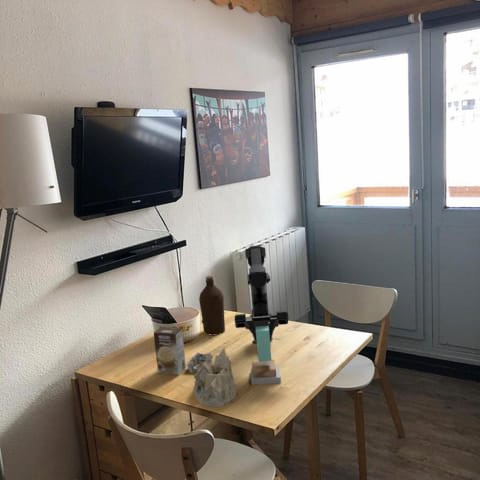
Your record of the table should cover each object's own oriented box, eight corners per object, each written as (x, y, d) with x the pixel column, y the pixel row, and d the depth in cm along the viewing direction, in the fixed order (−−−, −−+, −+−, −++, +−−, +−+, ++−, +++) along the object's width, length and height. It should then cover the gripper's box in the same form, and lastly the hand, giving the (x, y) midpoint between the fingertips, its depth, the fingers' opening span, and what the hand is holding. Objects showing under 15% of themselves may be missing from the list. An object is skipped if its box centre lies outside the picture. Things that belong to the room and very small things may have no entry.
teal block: (258, 356, 186) (255, 326, 184) (270, 355, 186) (268, 325, 184) (258, 361, 182) (255, 331, 180) (271, 360, 182) (269, 330, 179)
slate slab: (251, 386, 180) (251, 379, 180) (251, 373, 190) (250, 367, 190) (281, 384, 180) (280, 377, 180) (279, 371, 190) (278, 364, 189)
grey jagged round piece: (205, 379, 187) (200, 340, 183) (245, 388, 179) (242, 348, 175) (179, 402, 173) (174, 361, 170) (222, 413, 166) (218, 370, 162)
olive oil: (231, 328, 235) (226, 274, 231) (217, 337, 226) (212, 280, 222) (211, 326, 241) (206, 273, 236) (197, 334, 232) (192, 279, 227)
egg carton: (203, 374, 192) (202, 364, 191) (184, 372, 195) (183, 362, 194) (215, 362, 201) (214, 352, 201) (198, 360, 204) (197, 350, 203)
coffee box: (157, 373, 195) (152, 332, 192) (165, 366, 201) (160, 326, 198) (179, 375, 192) (174, 333, 189) (186, 368, 198) (182, 327, 195)
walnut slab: (253, 378, 181) (252, 371, 180) (252, 368, 189) (251, 361, 188) (276, 376, 181) (275, 369, 180) (274, 366, 188) (274, 359, 188)
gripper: (285, 309, 196) (290, 349, 188) (235, 313, 197) (237, 353, 188) (285, 295, 187) (290, 336, 178) (233, 299, 188) (235, 340, 179)
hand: (263, 342), depth 181 cm, fingers closed on teal block, 4 cm apart
